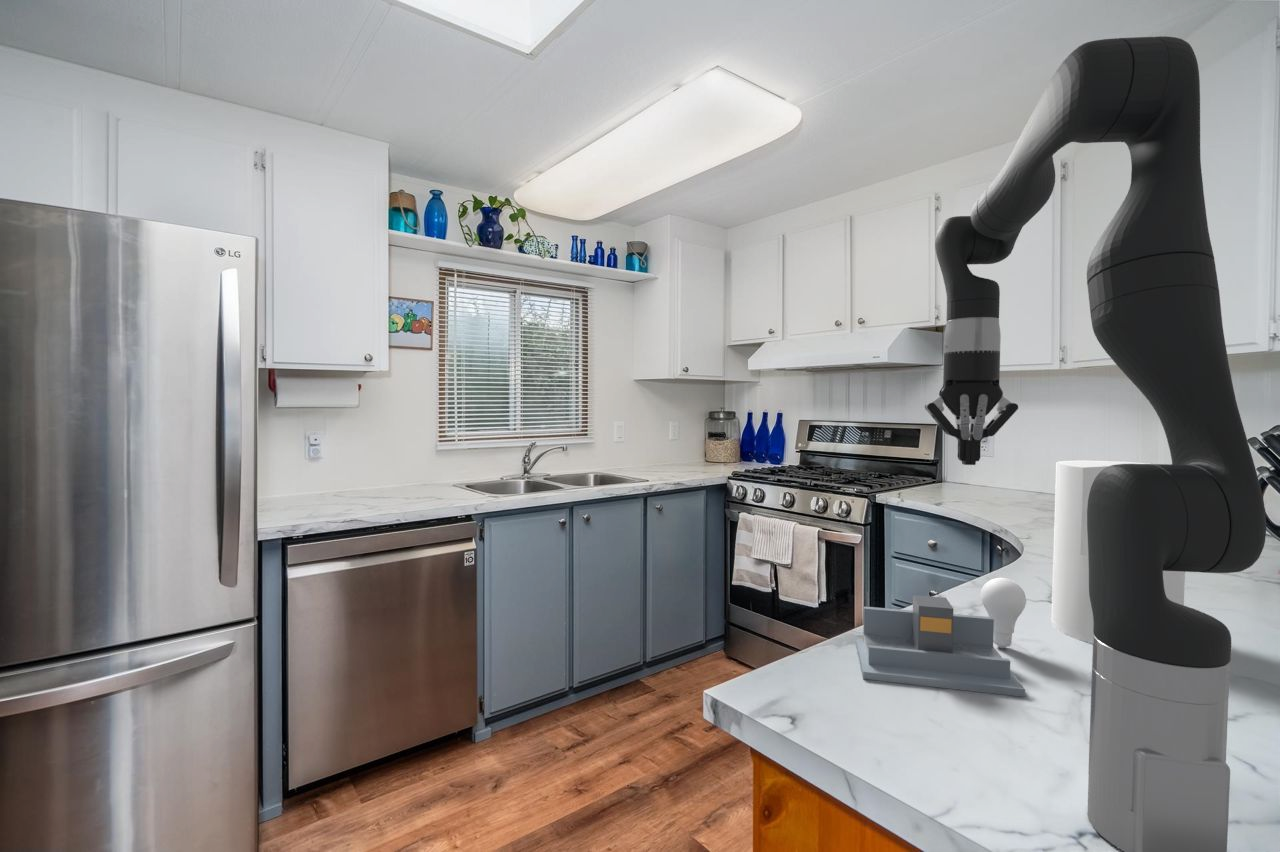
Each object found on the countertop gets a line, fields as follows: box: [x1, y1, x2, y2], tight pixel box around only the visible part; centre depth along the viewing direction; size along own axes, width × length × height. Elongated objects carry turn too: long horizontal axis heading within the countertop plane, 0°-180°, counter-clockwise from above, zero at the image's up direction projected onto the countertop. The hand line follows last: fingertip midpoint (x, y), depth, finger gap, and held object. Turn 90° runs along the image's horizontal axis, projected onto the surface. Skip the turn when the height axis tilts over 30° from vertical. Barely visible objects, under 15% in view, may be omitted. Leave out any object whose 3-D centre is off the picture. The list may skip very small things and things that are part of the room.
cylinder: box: [1050, 459, 1186, 645], centre depth 102 cm, size 17×17×28 cm
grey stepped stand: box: [855, 606, 1026, 698], centre depth 89 cm, size 12×20×6 cm, turn 75°
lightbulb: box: [980, 577, 1027, 649], centre depth 96 cm, size 6×6×11 cm
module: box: [912, 594, 954, 653], centre depth 89 cm, size 5×4×7 cm
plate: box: [864, 634, 1003, 659], centre depth 90 cm, size 7×18×2 cm, turn 75°
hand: (968, 464), depth 94 cm, fingers closed
